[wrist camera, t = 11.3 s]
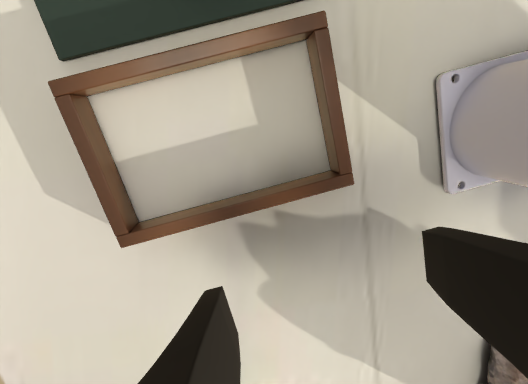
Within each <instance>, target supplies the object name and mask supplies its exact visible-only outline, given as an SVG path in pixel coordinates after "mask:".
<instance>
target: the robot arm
mask: <svg viewBox="0 0 528 384" xmlns="http://www.w3.org/2000/svg"><path fill="white" fill-rule="evenodd" d="M452 76H454V78H455V79H454V82H452V80H451V78H452ZM436 89H437V103H438V116H439V130H440V143H441V156H442V170H443V183H444V190H445V191H446V192H447V193H450V194H455V193H459V192H463V191H466V190H470V189H473V188H477V187H481V186H484V185H488V184H491V183H495V182H499V181H504V182H508V183H512V184H517V185H521V186H525V187H528V50H527V51H523V52H520V53H516V54H512V55H508V56H504V57H501V58H497V59H493V60H489V61H486V62H482V63H478V64H474V65H471V66H467V67H463V68H459V69H456V70H452V71H448V72H444V73H442V74H440V75H439V76H438V77H437V80H436ZM459 182H460V186H459V187H458V184H459ZM422 236H423V246H424V257H425V268H426V278H427V282H428V283H429V284H430V286H431V287H432V288H433V289H434V290H435V292H436V293H437V294H438V295H439V296H440V297H441V298H442V300H443V301H444V302H445V303H446V304H447V305H448V306H449V307H450V308H451V309H452V310H453V311H454V312H455V313H456V314H457V315H459V316H460V317H461V318H462V319H463V320H464V321H465V322H466V323H467V324H468V325H469V326H471V327H472V328H473V329H474V330H475V331H476V332H477V333H478V334H479V335H481V336H482V337H483V338H484V339H485V340H486V341H487V342H488V343H489V344H491V345H492V346H493V347H494V348H495V349H496V350H497V351H498V352H499V353H500V354H502V355H503V356H504V357H505V358H506V359H507V360H508V361H509V362H510V363H512V364H513V365H514V366H515V367H516V368H517V369H518V370H519V371H520V372H521V373H522V374H523V375H524V376H525V377H526V378H527V379H528V244H527V243H522V242H517V241H512V240H507V239H502V238H497V237H493V236H488V235H483V234H478V233H473V232H468V231H463V230H458V229H452V228H445V227H436V228H432V229H429V230H425V231H422ZM240 368H241V362H240V349H239V338H238V332H237V329H236V326H235V323H234V320H233V317H232V314H231V311H230V308H229V305H228V302H227V299H226V296H225V293H224V290H223V287H222V286H221V287H217V288H213V289H210V290H206V291H205V292H204V293H203V294H202V296H201V297H200V299H199V300H198V302H197V304H196V305H195V307H194V308H193V310H192V311H191V313H190V314H189V316H188V317H187V319H186V320H185V322H184V323H183V325H182V326H181V328H180V329H179V331H178V332H177V334H176V335H175V336H174V338H173V339H172V341H171V342H170V343H169V345H168V346H167V347H166V349H165V350H164V351H163V353H162V354H161V355H160V357H159V358H158V359H157V361H156V362H155V363H154V365H153V366H152V367H151V368H150V370H149V371H148V372H147V373H146V374H145V376H144V377H143V378H142V379H141V380H140V382H139V383H138V384H240Z"/></svg>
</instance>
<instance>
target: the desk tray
mask: <svg viewBox="0 0 528 384" xmlns="http://www.w3.org/2000/svg"><path fill="white" fill-rule="evenodd" d="M327 27H328V24H327V18H326V12H325V11H321V12H317V13H313V14H309V15H305V16H301V17H297V18H293V19H289V20H286V21H282V22H278V23H274V24H270V25H266V26H262V27H258V28H254V29H250V30H247V31H243V32H239V33H235V34H231V35H227V36H223V37H219V38H215V39H211V40H208V41H204V42H200V43H196V44H192V45H188V46H184V47H180V48H176V49H173V50H169V51H165V52H161V53H157V54H153V55H149V56H145V57H141V58H137V59H134V60H130V61H126V62H122V63H118V64H114V65H110V66H106V67H102V68H98V69H95V70H91V71H87V72H83V73H79V74H75V75H71V76H67V77H63V78H59V79H56V80H52V81H49V82H48V84H49V86H50V89H51V91H52V93H53V95H54V97H55V101H56V103H57V105H58V107H59V110H60V112H61V114H62V116H63V119H64V121H65V123H66V126H67V128H68V130H69V132H70V135H71V137H72V139H73V141H74V144H75V146H76V148H77V150H78V153H79V155H80V157H81V159H82V162H83V164H84V166H85V168H86V171H87V173H88V175H89V178H90V180H91V182H92V184H93V187H94V189H95V191H96V193H97V196H98V198H99V200H100V202H101V205H102V207H103V209H104V211H105V214H106V216H107V218H108V220H109V223H110V225H111V227H112V230H113V232H114V234H115V236H117V240H118V242H119V245H120V247H121V248H123V247H127V246H131V245H134V244H138V243H142V242H145V241H149V240H153V239H156V238H160V237H164V236H167V235H171V234H175V233H178V232H182V231H185V230H189V229H193V228H196V227H200V226H204V225H207V224H211V223H215V222H218V221H222V220H226V219H229V218H233V217H237V216H240V215H244V214H248V213H251V212H255V211H258V210H262V209H266V208H269V207H273V206H277V205H280V204H284V203H288V202H291V201H295V200H299V199H302V198H306V197H310V196H313V195H317V194H320V193H324V192H328V191H331V190H335V189H339V188H342V187H346V186H350V185H353V184H354V179H353V173H352V167H351V161H350V155H349V149H348V143H347V137H346V131H345V125H344V119H343V113H342V107H341V101H340V95H339V89H338V83H337V77H336V71H335V65H334V59H333V53H332V47H331V41H330V35H329V29H328V28H327ZM306 39H307V40H306ZM302 40H306V42H307V47H308V53H309V58H310V63H311V68H312V74H313V79H314V84H315V90H316V95H317V100H318V105H319V111H320V116H321V121H322V126H323V132H324V137H325V142H326V148H327V153H328V158H329V163H330V169H331V170H330V171H327V172H323V173H319V174H316V175H312V176H308V177H305V178H301V179H297V180H294V181H290V182H286V183H283V184H279V185H275V186H272V187H268V188H264V189H261V190H257V191H253V192H250V193H246V194H242V195H239V196H235V197H231V198H228V199H224V200H220V201H217V202H213V203H209V204H206V205H202V206H198V207H195V208H191V209H187V210H183V211H180V212H176V213H172V214H169V215H165V216H161V217H158V218H154V219H150V220H147V221H143V222H139V223H138V219H137V217H136V215H135V212H134V210H133V207H132V205H131V202H130V200H129V198H128V195H127V193H126V190H125V188H124V185H123V183H122V180H121V178H120V176H119V173H118V171H117V168H116V166H115V163H114V161H113V159H112V156H111V154H110V151H109V149H108V146H107V144H106V141H105V139H104V137H103V134H102V132H101V129H100V127H99V124H98V122H97V120H96V117H95V115H94V112H93V110H92V107H91V105H90V102H89V100H88V98H87V97H86V96H89V95H93V94H97V93H101V92H105V91H109V90H113V89H116V88H120V87H124V86H128V85H132V84H136V83H140V82H143V81H147V80H151V79H155V78H159V77H163V76H167V75H171V74H174V73H178V72H182V71H186V70H190V69H194V68H198V67H201V66H205V65H209V64H213V63H217V62H221V61H225V60H228V59H232V58H236V57H240V56H244V55H248V54H252V53H255V52H259V51H263V50H267V49H271V48H275V47H279V46H283V45H286V44H290V43H294V42H298V41H302Z"/></svg>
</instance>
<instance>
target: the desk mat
mask: <svg viewBox="0 0 528 384" xmlns="http://www.w3.org/2000/svg"><path fill="white" fill-rule="evenodd" d="M34 1H35V4H36V6H37V9H38V11H39V13H40V16H41V18H42V20H43V23H44V25H45V27H46V30H47V32H48V35H49V37H50V39H51V42H52V44H53V46H54V49H55V51H56V54H57V56H58V58H59V60H61V61H66V60H70V59H74V58H78V57H82V56H86V55H90V54H94V53H97V52H101V51H105V50H109V49H113V48H117V47H121V46H125V45H129V44H133V43H137V42H141V41H145V40H148V39H152V38H156V37H160V36H164V35H168V34H172V33H176V32H180V31H184V30H188V29H192V28H195V27H199V26H203V25H207V24H211V23H215V22H219V21H223V20H227V19H231V18H235V17H239V16H243V15H246V14H250V13H254V12H258V11H262V10H266V9H270V8H274V7H278V6H282V5H286V4H290V3H294V2H297V1H301V0H34Z"/></svg>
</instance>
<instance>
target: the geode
mask: <svg viewBox="0 0 528 384" xmlns="http://www.w3.org/2000/svg"><path fill="white" fill-rule="evenodd" d="M487 378H488V384H528V379H527V378H526V377H525V376H524V375H523V374H522V373H521V372H520V371H519V370H518V369H517V368H516V367H515V366H514V365H513V364H512V363H510V362H509V361H508V360H507V359H506V358H505V357H504V356H503V355H502V354H500V353H499V352H498V351H497V350H496V349H495V348H494V347H493V346H492V345H491V352H490V359H489V362H488V376H487Z"/></svg>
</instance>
